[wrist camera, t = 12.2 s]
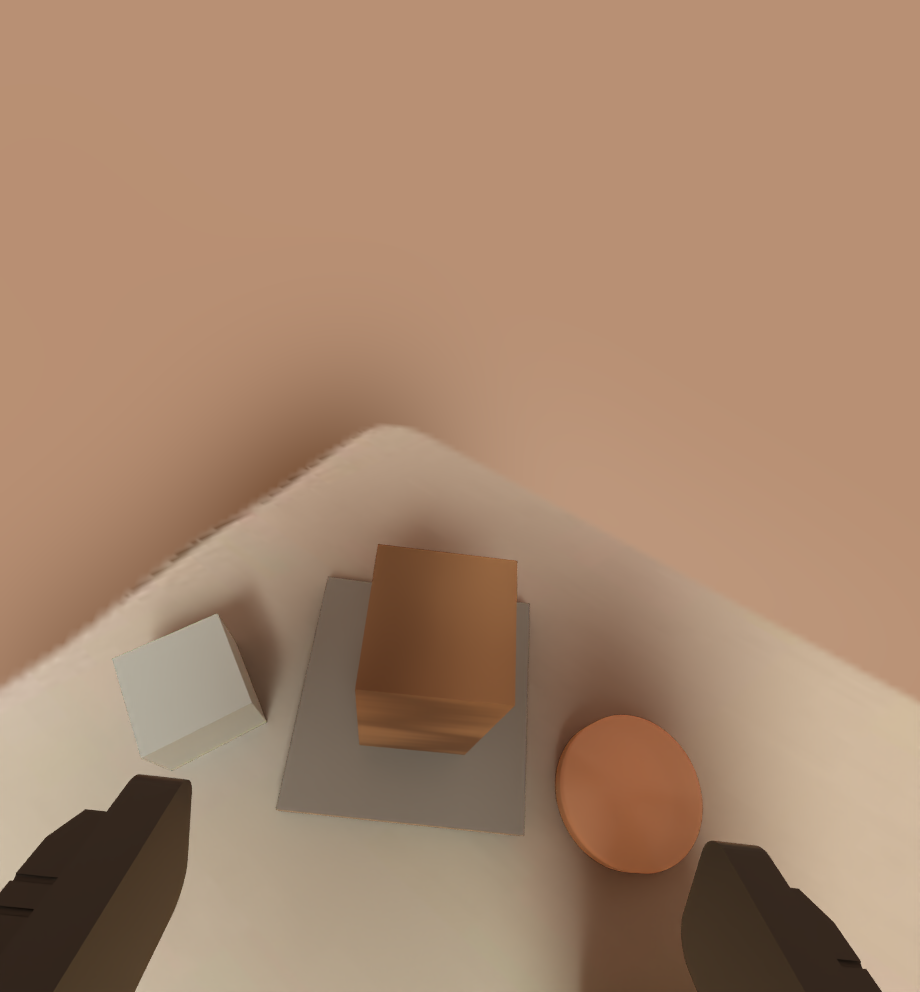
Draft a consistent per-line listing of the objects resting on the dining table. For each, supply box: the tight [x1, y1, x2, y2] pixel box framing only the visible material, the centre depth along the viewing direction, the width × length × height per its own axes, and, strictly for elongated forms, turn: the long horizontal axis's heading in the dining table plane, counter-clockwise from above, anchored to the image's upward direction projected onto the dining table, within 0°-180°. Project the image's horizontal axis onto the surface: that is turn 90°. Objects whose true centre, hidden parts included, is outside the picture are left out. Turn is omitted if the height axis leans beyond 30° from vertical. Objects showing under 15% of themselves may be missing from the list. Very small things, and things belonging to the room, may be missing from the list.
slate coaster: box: [276, 577, 530, 836], centre depth 26 cm, size 10×10×1 cm
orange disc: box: [555, 715, 703, 874], centre depth 25 cm, size 6×6×2 cm
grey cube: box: [112, 613, 267, 771], centre depth 24 cm, size 4×4×4 cm
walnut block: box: [355, 544, 517, 755], centre depth 22 cm, size 4×4×10 cm
